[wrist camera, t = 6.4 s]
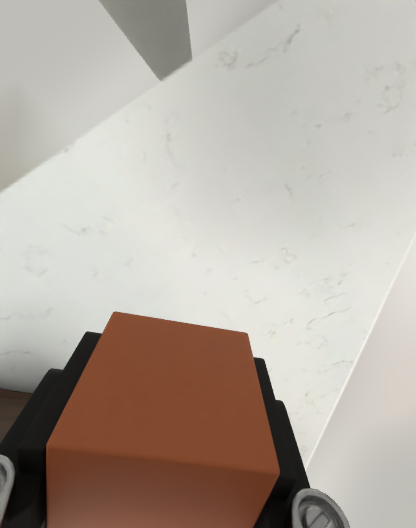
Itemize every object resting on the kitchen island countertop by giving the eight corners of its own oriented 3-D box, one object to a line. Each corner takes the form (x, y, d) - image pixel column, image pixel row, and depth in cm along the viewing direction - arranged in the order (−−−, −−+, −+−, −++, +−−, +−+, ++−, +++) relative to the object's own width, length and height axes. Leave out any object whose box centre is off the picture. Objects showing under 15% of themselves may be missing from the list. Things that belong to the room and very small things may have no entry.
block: (103, 408, 11) (45, 569, 7) (113, 309, 9) (43, 446, 5) (219, 423, 12) (228, 582, 7) (248, 331, 10) (282, 472, 6)
